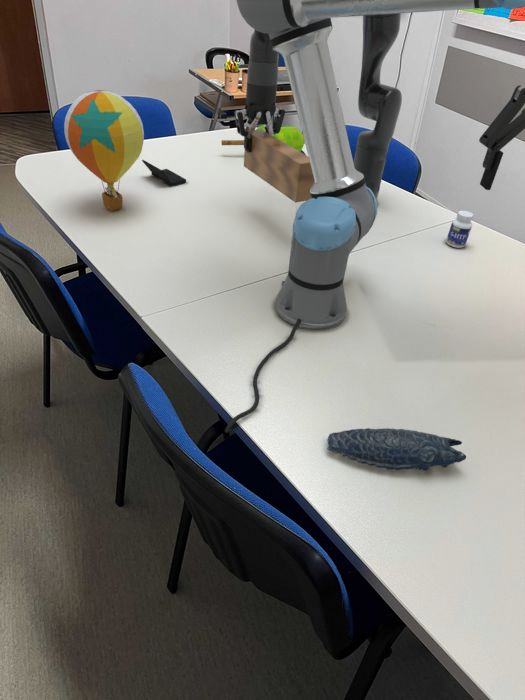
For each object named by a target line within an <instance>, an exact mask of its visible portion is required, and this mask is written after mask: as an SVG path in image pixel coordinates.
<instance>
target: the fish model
mask: <svg viewBox="0 0 525 700" xmlns="http://www.w3.org/2000/svg"><path fill="white" fill-rule="evenodd" d="M326 440H327V444H328V446H327V451H330V452H333V453H334V454H339V455H340V456H342V457H343V458H344V457H345V458H346V457H347V459H349V460H351V461H356V462H357V463H360V464H366V465H368V466H374V467H376V468H378V469H379V468H380V469H385V470H386V469H387V470H395V471H401V470H411V469H416V470H419V471H427V470H429V469H430V468H433V467H438V466H439V467H441V468H448V467H449V466H451V465H453V464H456V463H461V462H463V461H465V460H466V459H467V455H466V454H465V453H464V452H462V451H461V450H457V449H456V448H454V446H459V445H462V444H463V441H461V440H459V439H455V438H450V437H445V436H440V435H438V434H432V433H427V432H424V431H417V430H412V429H411V430H410V429H405V428H398V429H396V428H388V427H387V428H383V427H382V428H370V427H368V428H353V429H349V430H342V431H337V432H332V433H329V435H328V437H327V439H326Z"/></svg>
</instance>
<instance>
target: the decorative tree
mask: <svg viewBox="0 0 525 700" xmlns="http://www.w3.org/2000/svg"><path fill="white" fill-rule="evenodd" d="M259 129H262V130H263V131H265V128H264V126H263V124H261V125H259V126H258V127H256V129H255V130H259ZM273 136H274V137H276V138H277V139H279V140H281V141H282V142H284V143H286V144H288V145H289V146H291V147H293V148H294V149H296V150H298V151H300V152H301V150H302V151H303V148H304V146H305V141H304V137H303V133H302V131H300V129H298V128H297V127H296V126H281V129H280V132H279V133H278V134H277V133H276V134H274V135H273ZM221 146H244V139H231V140H229V139H226V140H224V139H223V140H221Z"/></svg>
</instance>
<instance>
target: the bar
mask: <svg viewBox="0 0 525 700" xmlns="http://www.w3.org/2000/svg"><path fill="white" fill-rule="evenodd" d="M251 138H252V148H251V152H250V153H248V152H247V151H246V150H245V149H244V154H243V167H244V168H245V169H247V170H248V171H250V172H251V173H252V174H254V175H255V176H257V177H258V178H260V179H261V180H263V181H264V182H265V183H266V184H268V185H269V186H271V187H273V188H274V189H275V190H277V191H278V192H280V193H281V194H283V195H284V196H285V197H287V198H288V199H290V200H291V201H292V202H294V203H301V202H302V203H303V202H305V201H307V200H309V199H312V197H311V194H310V189H311V187H312V185H313V183H314V176H313V172H312V168H311V164H310V160H309V157H308V155H307V154H306V153H305V154H306V155H307V156H306V155H305V154H303V153H301V152H300V151H298V150H296V149H294V148H293V147H291V146H289V145H288V144H286V143H284V142H282V141H281V140H279V139H277V138H276V137H274V136H272V135H270V134H269V133H267V132H265V131H263V130H262V129H259V130H256V129H255V130H254V131H253V134H252V136H251Z"/></svg>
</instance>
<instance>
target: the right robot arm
mask: <svg viewBox="0 0 525 700" xmlns="http://www.w3.org/2000/svg"><path fill="white" fill-rule="evenodd" d="M401 19H402V13H398V14H382V15H366V16H362V54H361V71H360V79H359V87H358V88H359V89H358V99H357V102H358V103H357V104H358V105H357V106H358V113H359V114H360V116H361V117H364V118H366V119H369V120H371V121H375V125H374V128H373V129H372V130H364V131H361V132H360V133H359V134H358V136H357V141H356V147H355V153H354V158H353V163H354V168H355V169H356V170H357V171H359V172H361V173H362V174H363V175H364V179H365V183H366V186H367V187H368V188H370V189H371V191H372V192H373V194H374V196H375V198H376V201H377V202H378V197H379V193H380V188H381V184H382V179H383V174H384V170H385V165H386V161H387V156H388V152H389V147H390V144H391V141H392V139H393V137H394V134H395V129H396V126H397V122H398V119H399V116H400V111H401V108H402V102H403V95H402V92H401V90H400V89H399V88H396V87H394V86H390V85H388V84H387V85H386V84H383V83H381V72H382V67H383V63H384V60H385V58H386V57H387V55H388V53H389V51H390V50H391V48H393V45H394V44H395V42H396V40H397V38H398V35H399V33H400V28H401ZM253 30H254V31H253V33H252V34H251V36H250V42H249V54H248V56H249V57H248V58H249V59H248V65H247V72H246V73H247V77H246V92H245V93H246V95H245V101H246V103H245V106H244V108H243V109H235V110H234V112H233V115H234V120H235V126H236V132H237V134H239V135H240V136H242V137H243V140H244V145H243V148H244V151H245V150H246V151H247V152H248V153H250V152H251V148H252V138H251V136H252V134H253V131H254V130H256V129H257V126H261V125H263V126H264V128H265V132H267V133H269V134H270V135H272V136H273V135H274V134H276V133H277V134H278V133H279V132H280V129H281V127H283V126H282V125H283V122H284V118H285V116H286V115H285V114H286V110H285V109H283V108H281V107H276V101H277V91H278V81H279V57H280V56H279V55H280V54H279V53H277V52H276V51H274V50H273V48H272V44H271V40H270V37H269V34H267V33H262V32H259V31H257V30H255V29H253ZM273 116H274V119H273V121H272V118H273ZM246 117H247V119H246V122H244V121H245V118H246ZM301 153H303V154H305V155H306V156H308V154H306V153H305V152H304V150H303V149H302V150H301Z"/></svg>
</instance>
